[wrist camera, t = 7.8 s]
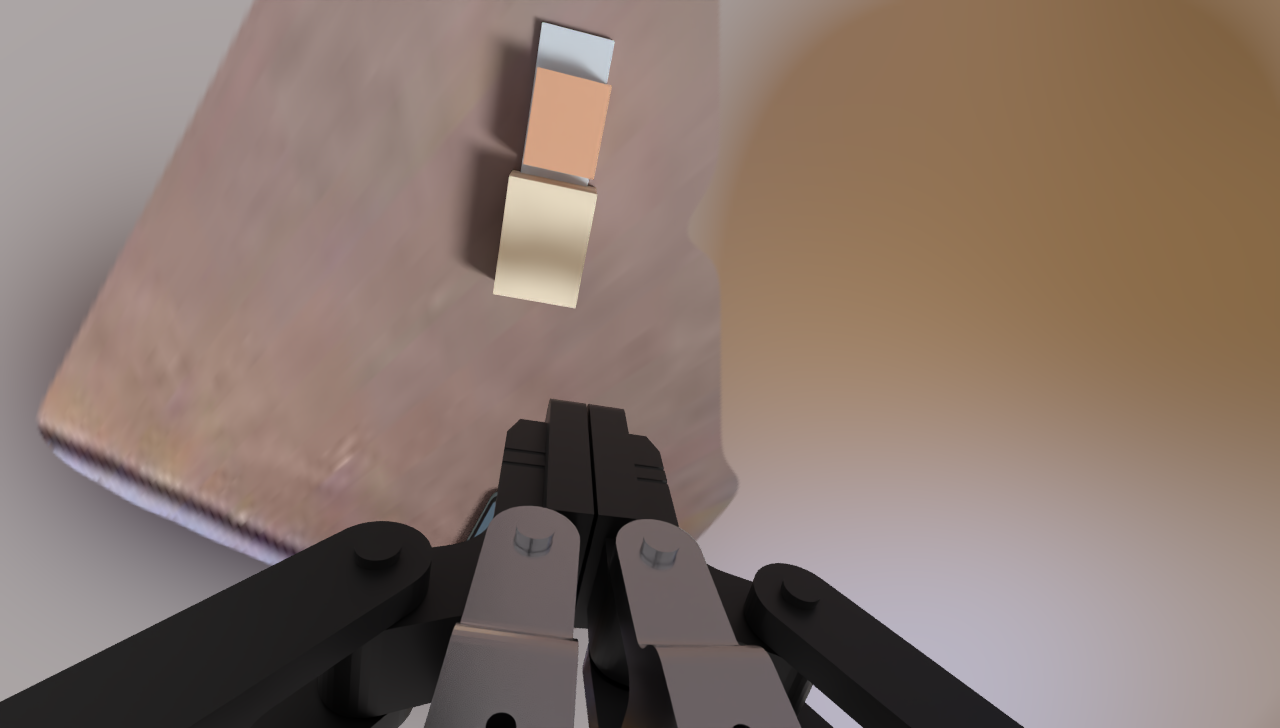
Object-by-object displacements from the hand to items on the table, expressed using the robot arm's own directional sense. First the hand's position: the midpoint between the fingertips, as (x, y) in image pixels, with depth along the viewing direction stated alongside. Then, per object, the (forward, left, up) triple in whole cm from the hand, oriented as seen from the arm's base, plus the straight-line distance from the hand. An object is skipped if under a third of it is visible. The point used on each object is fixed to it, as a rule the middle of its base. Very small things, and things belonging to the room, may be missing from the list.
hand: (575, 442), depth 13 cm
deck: (+3, -1, -28) cm, 28 cm away
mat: (-5, -1, -28) cm, 29 cm away
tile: (-4, -1, -28) cm, 28 cm away
